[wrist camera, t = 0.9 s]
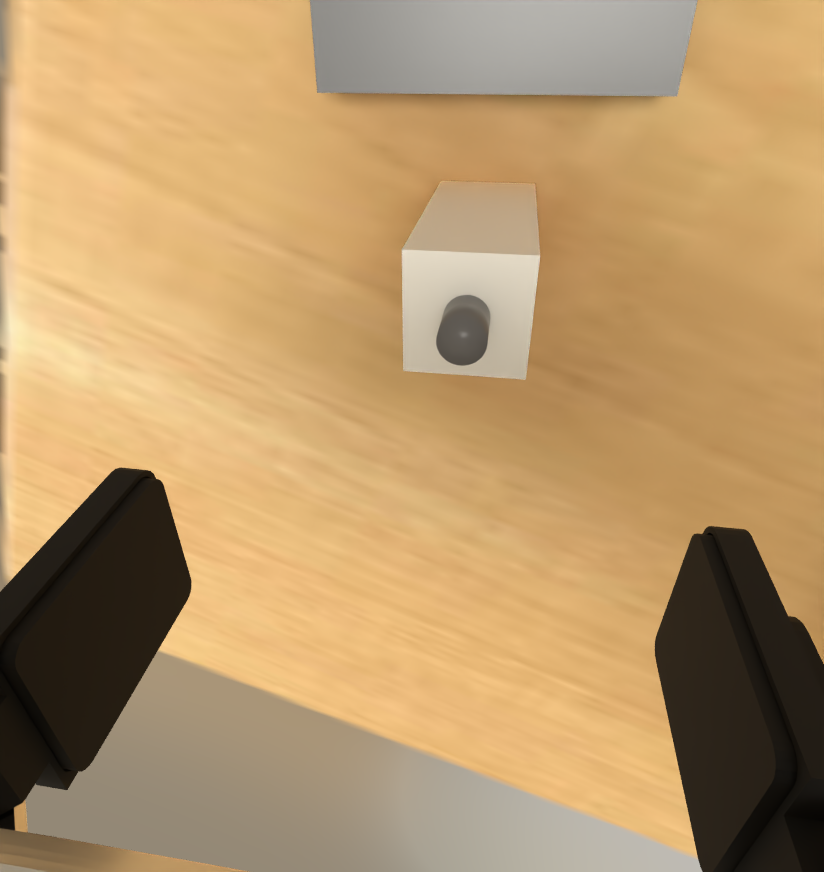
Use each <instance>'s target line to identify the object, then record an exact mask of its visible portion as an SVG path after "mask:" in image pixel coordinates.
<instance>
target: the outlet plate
mask: <svg viewBox="0 0 824 872" xmlns="http://www.w3.org/2000/svg"><path fill="white" fill-rule="evenodd" d="M696 5H697V0H310V6H311V18H312V31H313V44H314V57H315V69H316V82H317V93H400V94H498V95H597V96H677V95H678V90H679V85H680V80H681V76H682V71H683V66H684V62H685V57H686V52H687V47H688V43H689V38H690V33H691V29H692V24H693V19H694V15H695V10H696Z"/></svg>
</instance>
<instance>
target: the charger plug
mask: <svg viewBox="0 0 824 872" xmlns="http://www.w3.org/2000/svg"><path fill="white" fill-rule="evenodd" d="M539 262H540V244H539V229H538V215H537V200H536V186H535V183H504V182H470V181H440V183H439V185H438V187H437V189H436V190H435V192H434V194H433V196H432V197H431V199H430V201H429V203H428V204H427V206H426V208H425V210H424V211H423V213H422V215H421V217H420V218H419V220H418V222H417V224H416V225H415V227H414V229H413V231H412V233H411V234H410V236H409V238H408V240H407V241H406V243H405V245H404V247H403V248H402V304H403V371H412V372H426V373H440V374H454V375H468V376H482V377H496V378H510V379H524V380H526V374H527V365H528V357H529V348H530V339H531V331H532V322H533V314H534V305H535V297H536V288H537V280H538V271H539Z"/></svg>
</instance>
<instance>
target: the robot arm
mask: <svg viewBox="0 0 824 872" xmlns="http://www.w3.org/2000/svg"><path fill="white" fill-rule="evenodd" d="M190 592H191V577H190V574H189V571H188V567H187V564H186V560H185V557H184V554H183V550H182V547H181V543H180V540H179V536H178V533H177V530H176V526H175V523H174V519H173V516H172V513H171V509H170V506H169V502H168V499H167V495H166V492H165V489H164V485H163V483H162V482H161V481H160V480H158V479H156V478H155V475H154V474H153V473H152V472H151V471H148V470H139V469H129V468H117V469H115V470H114V471H112V472H111V473H110V474H109V475H108V476H107V478H106V479H105V480H104V481H103V482H102V483H101V484H100V485H99V486H98V487H97V488H96V489H95V490H94V492H93V493H92V494H91V495H90V496H89V497H88V498H87V499H86V500H85V501H84V502H83V503H82V504H81V506H80V507H79V508H78V509H77V510H76V511H75V512H74V513H73V514H72V515H71V516H70V517H69V518H68V520H67V521H66V522H65V523H64V524H63V525H62V526H61V527H60V528H59V529H58V530H57V531H56V532H55V534H54V535H53V536H52V537H51V538H50V539H49V540H48V541H47V542H46V543H45V544H44V545H43V546H42V548H41V549H40V550H39V551H38V552H37V553H36V554H35V555H34V556H33V557H32V558H31V559H30V560H29V562H28V563H27V564H26V565H25V566H24V567H23V568H22V569H21V570H20V571H19V572H18V573H17V574H16V576H15V577H14V578H13V579H12V580H11V581H10V582H9V583H8V584H7V585H6V586H5V587H4V589H3V590H2V591H1V592H0V872H248V871H243V870H237V869H232V868H226V867H221V866H215V865H210V864H204V863H199V862H193V861H187V860H182V859H176V858H171V857H165V856H159V855H154V854H148V853H143V852H137V851H131V850H126V849H120V848H114V847H108V846H103V845H98V844H92V843H86V842H81V841H75V840H69V839H63V838H57V837H52V836H46V835H39V834H33V833H28V830H27V816H26V803H25V799H26V797H27V796H28V794H29V793H30V791H31V789H32V788H33V786H34V785H35V783H36V785H40V786H47V787H52V788H58V789H64V790H68V788H69V786H70V784H71V783H72V781H73V780H74V778H75V776H76V774H77V773H78V771H83V770H85V769H86V768H87V767H88V766H89V765H90V764H91V763H92V761H93V760H94V758H95V756H96V754H97V753H98V751H99V749H100V748H101V746H102V744H103V743H104V741H105V739H106V737H107V736H108V734H109V732H110V731H111V729H112V727H113V725H114V724H115V722H116V721H117V719H118V717H119V715H120V714H121V712H122V710H123V708H124V707H125V705H126V704H127V702H128V700H129V698H130V697H131V694H132V693H133V692H134V690H135V688H136V686H137V685H138V683H139V681H140V680H141V678H142V676H143V675H144V673H145V671H146V669H147V668H148V666H149V664H150V663H151V661H152V659H153V658H154V656H155V654H156V652H157V651H158V649H159V647H160V646H161V644H162V642H163V641H164V639H165V637H166V635H167V634H168V632H169V630H170V629H171V627H172V625H173V624H174V622H175V620H176V618H177V617H178V615H179V613H180V612H181V610H182V608H183V606H184V605H185V603H186V601H187V599H188V597H189V595H190ZM655 657H656V663H657V667H658V672H659V677H660V681H661V686H662V691H663V695H664V700H665V705H666V709H667V714H668V719H669V724H670V728H671V733H672V738H673V742H674V747H675V752H676V756H677V761H678V766H679V770H680V775H681V780H682V784H683V789H684V794H685V799H686V803H687V808H688V813H689V817H690V822H691V827H692V831H693V836H694V841H695V845H696V850H697V855H698V859H699V863H700V867H701V869H702V871H703V872H824V664H823V662H822V660H821V658H820V656H819V654H818V652H817V649H816V647H815V645H814V643H813V641H812V639H811V637H810V635H809V633H808V631H807V629H806V628H805V626H804V625H803V623H802V622H801V621H800V620H798V619H797V618H795V617H790V616H788V615H787V613H786V611H785V609H784V606H783V604H782V602H781V600H780V598H779V595H778V593H777V591H776V589H775V587H774V584H773V582H772V580H771V578H770V576H769V573H768V571H767V569H766V567H765V565H764V562H763V560H762V558H761V556H760V554H759V551H758V549H757V547H756V545H755V543H754V540H753V538H752V536H751V535H750V533H749V532H748V531H747V530H744V529H734V528H724V527H714V526H709V527H707V528H706V529H705V531H704V533H703V534H694V535H693V536H692V538H691V541H690V544H689V546H688V549H687V552H686V555H685V557H684V560H683V563H682V566H681V569H680V571H679V574H678V577H677V580H676V583H675V585H674V588H673V591H672V594H671V597H670V599H669V602H668V605H667V608H666V611H665V613H664V616H663V619H662V622H661V625H660V627H659V630H658V633H657V636H656V640H655Z"/></svg>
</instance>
